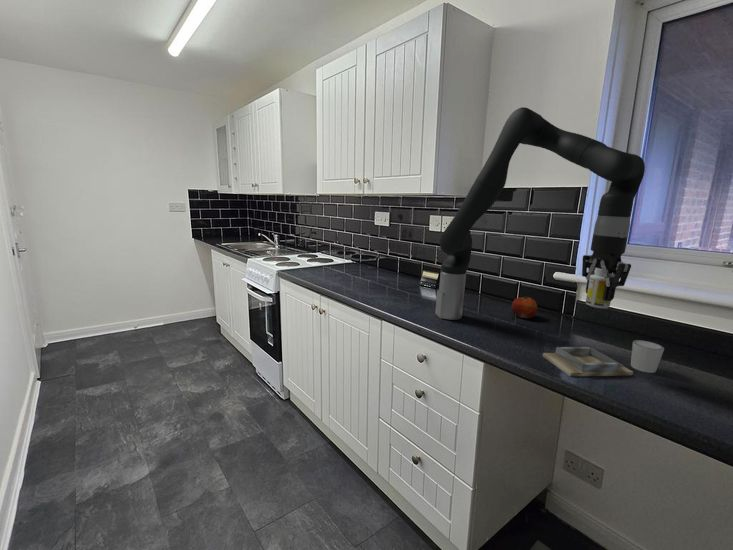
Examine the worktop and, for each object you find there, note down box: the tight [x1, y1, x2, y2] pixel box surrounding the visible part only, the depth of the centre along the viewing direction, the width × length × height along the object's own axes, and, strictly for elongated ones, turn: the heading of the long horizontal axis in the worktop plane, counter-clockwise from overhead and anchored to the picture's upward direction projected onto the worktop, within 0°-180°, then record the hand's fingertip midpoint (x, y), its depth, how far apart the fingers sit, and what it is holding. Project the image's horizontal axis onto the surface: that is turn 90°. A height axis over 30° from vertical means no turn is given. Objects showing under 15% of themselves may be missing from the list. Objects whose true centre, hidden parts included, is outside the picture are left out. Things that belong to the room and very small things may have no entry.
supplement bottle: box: [585, 268, 613, 309], centre depth 95 cm, size 6×6×10 cm
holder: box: [542, 346, 634, 377], centre depth 99 cm, size 18×12×3 cm, turn 97°
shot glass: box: [630, 339, 665, 374], centre depth 99 cm, size 7×7×7 cm
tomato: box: [511, 296, 538, 319], centre depth 139 cm, size 9×9×8 cm
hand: (598, 296), depth 96 cm, fingers closed on supplement bottle, 5 cm apart
